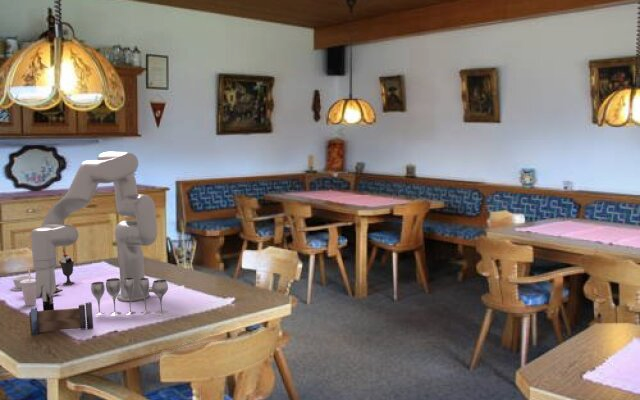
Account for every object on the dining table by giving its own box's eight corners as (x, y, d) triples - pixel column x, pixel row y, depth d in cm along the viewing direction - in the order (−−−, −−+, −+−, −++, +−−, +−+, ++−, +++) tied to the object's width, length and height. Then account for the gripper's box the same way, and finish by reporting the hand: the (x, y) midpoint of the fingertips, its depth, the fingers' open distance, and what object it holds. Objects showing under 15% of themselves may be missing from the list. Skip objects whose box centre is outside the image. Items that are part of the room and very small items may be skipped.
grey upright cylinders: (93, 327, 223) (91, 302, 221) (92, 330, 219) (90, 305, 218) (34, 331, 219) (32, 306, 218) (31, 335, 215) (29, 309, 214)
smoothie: (32, 307, 247) (29, 272, 245) (18, 306, 249) (15, 271, 247) (42, 302, 253) (40, 268, 252) (28, 302, 255) (25, 267, 253)
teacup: (19, 292, 270) (18, 282, 269) (5, 289, 275) (5, 279, 274) (41, 287, 278) (40, 276, 277) (27, 284, 283) (26, 273, 283)
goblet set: (90, 317, 234) (88, 281, 233) (95, 312, 240) (93, 277, 238) (167, 314, 236) (166, 279, 234) (170, 310, 241) (168, 275, 240)
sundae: (63, 282, 285) (60, 249, 283) (78, 281, 285) (76, 248, 284) (58, 286, 278) (55, 252, 276) (74, 285, 279) (71, 251, 277)
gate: (86, 326, 222) (85, 304, 221) (85, 328, 220) (84, 305, 219) (31, 331, 218) (29, 308, 217) (30, 333, 216) (28, 310, 215)
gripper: (38, 259, 227) (42, 309, 230) (28, 269, 213) (32, 322, 215) (60, 258, 229) (64, 307, 231) (52, 267, 214) (56, 320, 217)
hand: (49, 314), depth 223 cm, fingers closed
